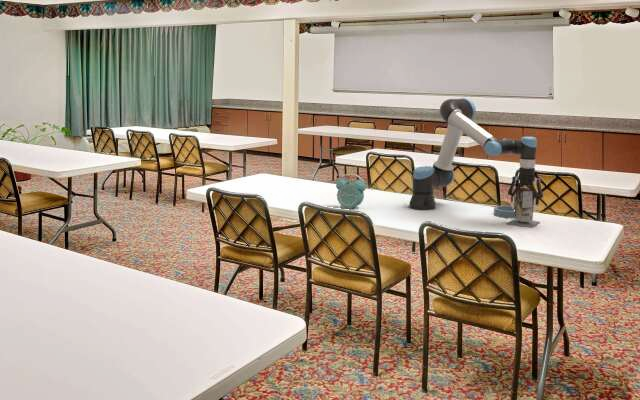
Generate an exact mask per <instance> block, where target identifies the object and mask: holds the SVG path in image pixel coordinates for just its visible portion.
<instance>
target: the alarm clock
mask: <svg viewBox="0 0 640 400" xmlns="http://www.w3.org/2000/svg"><path fill="white" fill-rule="evenodd" d="M350 175H351V176H355V177H357V178H358V179H357V180H354V182H352V180H348V179H345V178H344V177H346V176H350ZM335 187H336V190H337V192H336V199H337V201H338V203H339V205H340V206H339V207H340V208H339V209H342V208H343V207H344V208H347V209H349V208H354V209H355V208H356V209H359V208H358V206H359V205H361V204H362V203H363V201H364V197H365V194H364V193H365V191H366V189H367V184H366V181H365V179H363V178H361V176H359V175H358V174H357V173H346V174H344V175H342V176H341V177H339V178H338V179H337V181H336V184H335ZM356 209H355V210H356Z"/></svg>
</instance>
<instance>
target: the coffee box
mask: <svg viewBox="0 0 640 400" xmlns="http://www.w3.org/2000/svg"><path fill="white" fill-rule="evenodd" d="M534 193H535V191H532V190H531V188H530V187H520V188H519V189H518V190H517V192H516V194H515V196H516V206H515V207H516V208H515V218H516V219H518V220H519V221H521V222H529V221H534V220H533V218H534V212H533V207H534V199H535V196H534ZM515 218H514V219H515Z"/></svg>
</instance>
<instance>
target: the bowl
mask: <svg viewBox="0 0 640 400" xmlns="http://www.w3.org/2000/svg"><path fill="white" fill-rule="evenodd" d="M515 208H516V206H515ZM515 208H514V209H512V205H496V206H494V207H493V215H494V216H496V217H499V218H504V219H515V211H514V210H515Z"/></svg>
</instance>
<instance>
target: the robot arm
mask: <svg viewBox="0 0 640 400" xmlns="http://www.w3.org/2000/svg"><path fill="white" fill-rule="evenodd" d="M476 110H477V109H476V105H475V103H474V102H473V101H472V100H471V99H468V98H449V99H446V100H444V101H443V102H442V103H441V105H440V106H439V115H440V117H441V119H442V120H443V121H444V122H446V123H447V129H446V131H445V135H444V138H443V140H442V144H441V148H440V150H439V154H438V158H437V160H436V161H434V162H433V165H432V166H430V165H429V166H428V165H424V166H417V167H416V168H415V169H414V170H413V176H412V178H413V179H412V196H411V198H410V201H409V206H408V207H409V208H410V209H413V210H418V211H420V210H421V211H430V210H431V211H432V210H435V209H436V208H437V204H436V200H435V197H434V189H438V188H444V187H448V186H450V185H451V184H452V183H453V182H454V180H455V172H454V167H453V162H454V160H455V159H454V158H455V155H456V152H457V149H458V145H459V143H460V140H461V136H462V133H463V134H465V135H466V136H467V137H469V138H470V139H471V140H473V141H474V142H475V143H477V144H478V145H479V146H481V147H482V148H483V149H484V152H485V154H486V155H487V156H489V157H497V156H504V155H519V171H518V176H517V175H516V176H515V175H513V176H512V177H511V178H512V179H511V180H512V181H511V183H510V185H509V186H510V187H509V189H508V192H507V195H509V196H510V202H511V203H512V205H511V206H512V209H514V208H515V207H516V192H517V190H518V189H519V188H522V186H527V187H528V186H529V187H528V188H529V189H531V190H532V191H535V193H534V207H533V213H534V212H535V213H536V212H537V206H538V205H539V204H540V199H542V198H543V197H544V195H543V190H542V184H541V182H542V181H541V178H536V177H535V171H536V168H535V167H536V157H537V147H538V146H537V145H538V143H537V142H538V139H537V138H536V137H534V136H522V137H521V139H515V138H503V139H501V140H500V139H497V138H496V137H495V136H494V135H492V134H491V133H489V132H488V131H487V130H486V129H484V128H482V126H480V125H478V124H477V123H476V122H474V121H473V120H472V119H473V118H474V117H475V116H476ZM517 180H518V181H519V182H518V184H517V186H516V187H515V185H516V183H517ZM534 182H535V183H536V184H534ZM535 185H536V187H535Z"/></svg>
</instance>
